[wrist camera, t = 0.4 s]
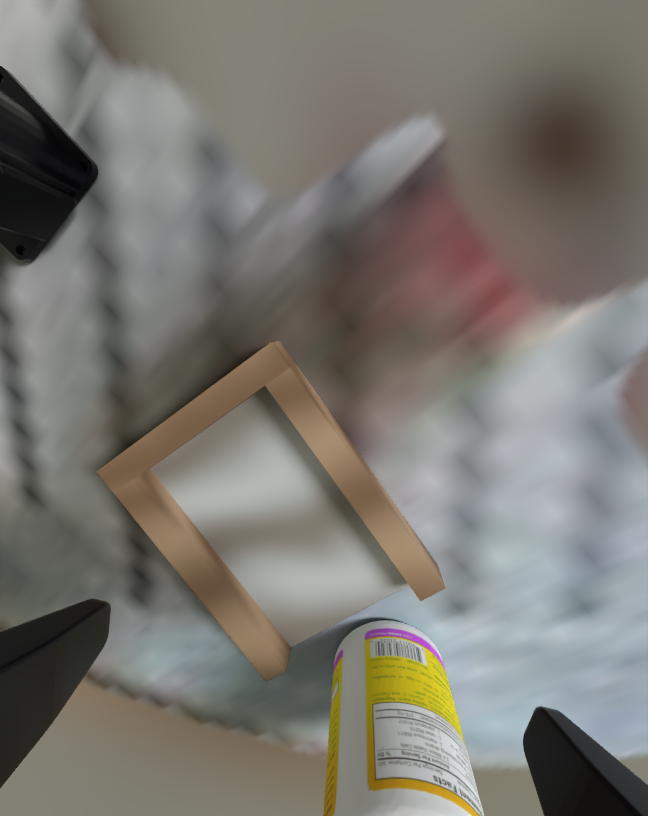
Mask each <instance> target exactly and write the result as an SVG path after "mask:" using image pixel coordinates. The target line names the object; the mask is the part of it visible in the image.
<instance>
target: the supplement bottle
mask: <svg viewBox="0 0 648 816" xmlns="http://www.w3.org/2000/svg"><path fill="white" fill-rule="evenodd" d="M323 816H484V814H483V810H482V806H481V802H480V799H479V795H478V791H477V788H476V784H475V780H474V776H473V772H472V769H471V765H470V761H469V757H468V753H467V750H466V746H465V742H464V739H463V735H462V731H461V727H460V723H459V719H458V716H457V712H456V708H455V705H454V701H453V697H452V693H451V689H450V685H449V682H448V678H447V674H446V671H445V667H444V664H443V661H442V658H441V655H440V653H439V651H438V649H437V648H436V646H435V645H434V643H433V642H432V641H431V640H430V639H429V638H428V637H427V636H426V635H424V634H423V633H422V632H421V631H419V630H417V629H416V628H414V627H412V626H410V625H407V624H405V623H401V622H397V621H388V620H382V621H374V622H370V623H367V624H364V625H362V626H360V627H358V628H356V629H355V630H353V631H352V632H350V633H349V634H348V635H347V636H346V637H345V638H344V640H343V641H342V642H341V644H340V646H339V648H338V650H337V652H336V656H335V660H334V669H333V681H332V697H331V710H330V725H329V740H328V756H327V771H326V786H325V801H324V815H323Z"/></svg>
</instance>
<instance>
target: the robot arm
mask: <svg viewBox="0 0 648 816" xmlns="http://www.w3.org/2000/svg"><path fill="white" fill-rule="evenodd" d="M3 78H4V79H3ZM2 79H3V82H2ZM86 165H88V169H87V171H86V172H85V173H84V168H85V166H86ZM97 175H98V168H97V165H96V164H95V162H94V161H93V160H92V159H91V158H90V157H89V156H88V155H87V154H86V153H85V152H84V151H83V150H82V148H81V147H80V146H79V145H78V144H77V143H76V142H75V141H74V140H73V139H72V138H71V137H70V136H69V135H68V134H67V132H66V131H65V130H64V129H63V128H62V127H61V126H60V125H59V124H58V123H57V122H56V121H55V120H54V119H53V117H52V116H51V115H50V114H49V113H48V112H47V111H46V110H45V109H44V108H43V107H42V106H41V105H40V104H39V103H38V101H37V100H36V99H35V98H34V97H33V96H32V95H31V94H30V93H29V92H28V91H27V90H26V89H25V88H24V87H23V85H22V84H21V83H20V82H19V81H18V80H17V79H16V78H15V77H14V76H13V75H12V74H11V73H10V72H8V71H7V70H6V69H4V68H3V67H2V66H0V242H1V243H2V244H3V245H4V246H5V247H6V248H7V249H8V250H9V251H10V252H11V253H12V254H13V255H14V256H15V257H16V258H17V259H19V260H23V261H28V262H29V261H32V260H34V259H35V257H36V256H37V255H38V254H39V252H40V251H41V250H42V248H43V247H44V246H45V244H46V243H47V242H48V240H50V238H51V237H52V236H53V234H54V233H55V232H56V230H57V229H58V228H59V226H60V225H61V224H62V222H63V221H64V220H65V219H66V217H67V216H68V215H69V213H70V212H71V211H72V209H73V208H74V207H75V205H76V204H77V202H78V201H79V200H80V199H81V197H82V196H83V195H84V193H85V192H86V191H87V189H88V188H89V187H90V185H91V184H92V183H93V181H94V180H95V179H96V177H97ZM24 248H25V254H24V253H23V249H24ZM110 612H111V606H110V604H109V603H108V602H105V601H101V600H97V599H89V600H86V601H83V602H80V603H78V604H75V605H72V606H69V607H67V608H64V609H61V610H59V611H56V612H53V613H50V614H48V615H45V616H42V617H40V618H37V619H34V620H32V621H29V622H26V623H23V624H21V625H18V626H15V627H13V628H10V629H7V630H4V631H2V632H0V788H1V787H2V786H3V784H4V783H5V782H6V781H7V779H8V778H9V777H10V776H11V774H12V773H13V772H14V771H15V769H16V768H17V767H18V766H19V764H20V763H21V762H22V761H23V759H24V758H25V757H26V756H27V754H28V753H29V752H30V751H31V749H32V748H33V747H34V746H35V744H36V743H37V742H38V741H39V740H40V738H41V737H42V736H43V734H44V733H45V732H46V731H47V729H48V728H49V727H50V725H51V724H52V723H53V721H54V720H55V718H56V717H57V716H58V714H59V713H60V711H61V710H62V709H63V707H64V706H65V704H66V703H67V701H68V700H69V698H70V697H71V695H72V694H73V692H74V691H75V689H76V688H77V686H78V685H79V683H80V682H81V680H82V679H83V677H84V676H85V674H86V673H87V671H88V670H89V668H90V667H91V665H92V664H93V662H94V661H95V659H96V658H97V656H98V655H99V653H100V652H101V650H102V649H103V647H104V645H105V643H106V641H107V638H108V633H109V623H110ZM523 747H524V752H525V756H526V759H527V762H528V766H529V769H530V772H531V775H532V778H533V782H534V785H535V788H536V791H537V794H538V797H539V801H540V804H541V807H542V810H543V814H544V816H648V785H647V784H646V783H645V782H643V781H642V780H641V779H640V778H639V777H637V776H636V775H635V774H634V773H633V772H631V771H630V770H629V769H628V768H627V767H625V766H624V765H623V764H622V763H621V762H619V761H618V760H617V759H616V758H615V757H614V756H612V755H611V754H610V753H609V752H608V751H606V750H605V749H604V748H603V747H602V746H600V745H599V744H598V743H597V742H596V741H594V740H593V739H592V738H591V737H590V736H588V735H587V734H586V733H585V732H584V731H583V730H581V729H580V728H579V727H578V726H577V725H575V724H574V723H573V722H572V721H571V720H569V719H568V718H567V717H566V716H565V715H563V714H562V713H561V712H559V711H558V710H554V709H550V708H546V707H542V706H540V707H537V708H536V709H535V710H534V713H533V715H532V717H531V719H530V722H529V724H528V726H527V728H526V731H525V733H524V737H523Z"/></svg>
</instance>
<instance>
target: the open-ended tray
mask: <svg viewBox="0 0 648 816" xmlns="http://www.w3.org/2000/svg"><path fill="white" fill-rule="evenodd" d="M97 473H98V475H99V476H100V477H101V478H102V480H103V481H104V482H105V483H106V485H107V486H108V487H109V488H110V489H111V491H112V492H113V493H114V494H115V496H116V497H117V498H118V499H119V501H120V502H121V503H122V504H123V506H124V507H125V508H126V509H127V510H128V512H129V513H130V514H131V515H132V517H133V518H134V519H135V520H136V522H137V523H138V524H139V525H140V527H141V528H142V529H143V530H144V531H145V533H146V534H147V535H148V536H149V538H150V539H151V540H152V541H153V543H154V544H155V545H156V546H157V548H158V549H159V550H160V551H161V552H162V554H163V555H164V556H165V557H166V559H167V560H168V561H169V562H170V564H171V565H172V566H173V567H174V569H175V570H176V571H177V572H178V573H179V575H180V576H181V577H182V578H183V580H184V581H185V582H186V583H187V585H188V586H189V587H190V588H191V590H192V591H193V592H194V593H195V595H196V596H197V597H198V598H199V599H200V601H201V602H202V603H203V604H204V606H205V607H206V608H207V609H208V611H209V612H210V613H211V614H212V616H213V617H214V618H215V619H216V620H217V622H218V623H219V624H220V625H221V627H222V628H223V629H224V630H225V632H226V633H227V634H228V635H229V637H230V638H231V639H232V640H233V641H234V643H235V644H236V645H237V646H238V648H239V649H240V650H241V651H242V653H243V654H244V655H245V656H246V658H247V659H248V660H249V661H250V662H251V664H252V665H253V666H254V667H255V669H256V670H257V671H258V672H259V674H260V675H261V676H262V677H263V679H264V680H265V681H268V680H270V679H272V678H273V677H275V676H277V675H279V674H281V673H283V672H285V671H286V670H287V665H288V660H289V656H290V651H291V648H292V647H294V646H295V645H297V644H299V643H301V642H303V641H305V640H307V639H309V638H310V637H312V636H314V635H316V634H318V633H320V632H322V631H324V630H325V629H327V628H329V627H331V626H333V625H335V624H337V623H339V622H341V621H342V620H344V619H346V618H348V617H350V616H352V615H354V614H356V613H357V612H359V611H361V610H363V609H365V608H367V607H369V606H371V605H372V604H374V603H376V602H378V601H380V600H382V599H384V598H386V597H388V596H389V595H391V594H393V593H395V592H397V591H399V590H401V589H403V588H404V587H406V586H408V585H409V586H410V587H411V588H412V590H413V591H414V593H415V594H416V595H417V597H418V598H419V599H420V601H422V600H424V599H426V598H428V597H430V596H432V595H433V594H435V593H437V592H439V591H441V590H443V589H445V585H444V582H443V579H442V577H441V574H440V571H439V568H438V565H437V563H436V562H435V560H434V559H433V558H432V556H431V555H430V553H429V552H428V551H427V549H426V548H425V546H424V545H423V543H422V542H421V541H420V539H419V538H418V536H417V535H416V533H415V532H414V531H413V529H412V528H411V526H410V525H409V524H408V522H407V521H406V519H405V518H404V516H403V515H402V514H401V512H400V511H399V509H398V508H397V507H396V505H395V504H394V502H393V501H392V499H391V498H390V497H389V495H388V494H387V492H386V491H385V490H384V488H383V487H382V485H381V484H380V482H379V481H378V480H377V478H376V477H375V475H374V474H373V472H372V471H371V470H370V468H369V467H368V465H367V464H366V463H365V461H364V460H363V458H362V457H361V455H360V454H359V453H358V451H357V450H356V448H355V447H354V446H353V444H352V443H351V441H350V440H349V438H348V437H347V436H346V434H345V433H344V431H343V430H342V429H341V427H340V426H339V424H338V423H337V421H336V420H335V419H334V417H333V416H332V414H331V413H330V412H329V410H328V409H327V407H326V406H325V404H324V403H323V402H322V400H321V399H320V397H319V396H318V394H317V393H316V392H315V390H314V389H313V387H312V386H311V385H310V383H309V382H308V380H307V379H306V377H305V376H304V375H303V373H302V372H301V370H300V369H299V368H298V366H297V365H296V363H295V362H294V360H293V359H292V358H291V356H290V355H289V353H288V352H287V351H286V349H285V348H284V346H283V345H282V343H281V342H280V341H277V342H270V343H269V344H268V345H266V346H265V347H264V348H262V349H261V350H260V351H258V352H257V353H256V354H254V355H253V356H252V357H250V358H249V359H248V360H246V361H245V362H243V363H242V364H241V365H239V366H238V367H237V368H235V369H234V370H233V371H231V372H230V373H229V374H227V375H226V376H225V377H223V378H222V379H221V380H219V381H218V382H217V383H215V384H214V385H212V386H211V387H210V388H208V389H207V390H206V391H204V392H203V393H202V394H200V395H199V396H198V397H196V398H195V399H194V400H192V401H191V402H190V403H188V404H187V405H186V406H184V407H183V408H181V409H180V410H179V411H177V412H176V413H175V414H173V415H172V416H171V417H169V418H168V419H167V420H165V421H164V422H163V423H161V424H160V425H159V426H157V427H156V428H155V429H153V430H152V431H150V432H149V433H148V434H146V435H145V436H144V437H142V438H141V439H140V440H138V441H137V442H136V443H134V444H133V445H132V446H130V447H129V448H128V449H126V450H125V451H123V452H122V453H121V454H119V455H118V456H117V457H115V458H114V459H113V460H111V461H110V462H109V463H107V464H106V465H105V466H103V467H102V468H101V469H99V470H98V471H97Z"/></svg>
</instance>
